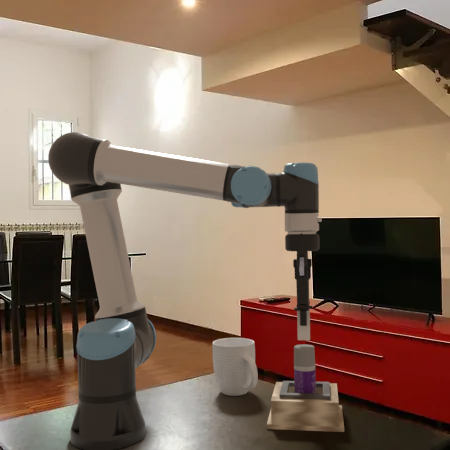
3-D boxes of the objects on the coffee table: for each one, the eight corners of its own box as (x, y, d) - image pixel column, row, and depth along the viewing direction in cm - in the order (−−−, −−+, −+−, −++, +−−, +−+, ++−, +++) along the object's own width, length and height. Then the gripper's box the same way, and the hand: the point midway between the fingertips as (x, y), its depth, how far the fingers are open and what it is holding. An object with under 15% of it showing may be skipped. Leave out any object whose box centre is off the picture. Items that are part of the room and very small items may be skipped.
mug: (274, 397, 139) (272, 344, 139) (237, 406, 133) (236, 351, 133) (239, 383, 151) (238, 335, 151) (205, 391, 145) (204, 341, 145)
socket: (266, 428, 117) (266, 396, 117) (272, 407, 131) (271, 378, 131) (344, 432, 114) (343, 399, 114) (341, 409, 128) (341, 380, 128)
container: (318, 417, 120) (316, 348, 120) (296, 418, 120) (294, 349, 120) (314, 410, 125) (313, 343, 125) (293, 411, 125) (292, 344, 125)
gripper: (318, 233, 116) (320, 346, 116) (319, 232, 129) (321, 334, 129) (282, 233, 117) (284, 345, 117) (287, 232, 130) (288, 333, 130)
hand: (303, 339), depth 123 cm, fingers closed
